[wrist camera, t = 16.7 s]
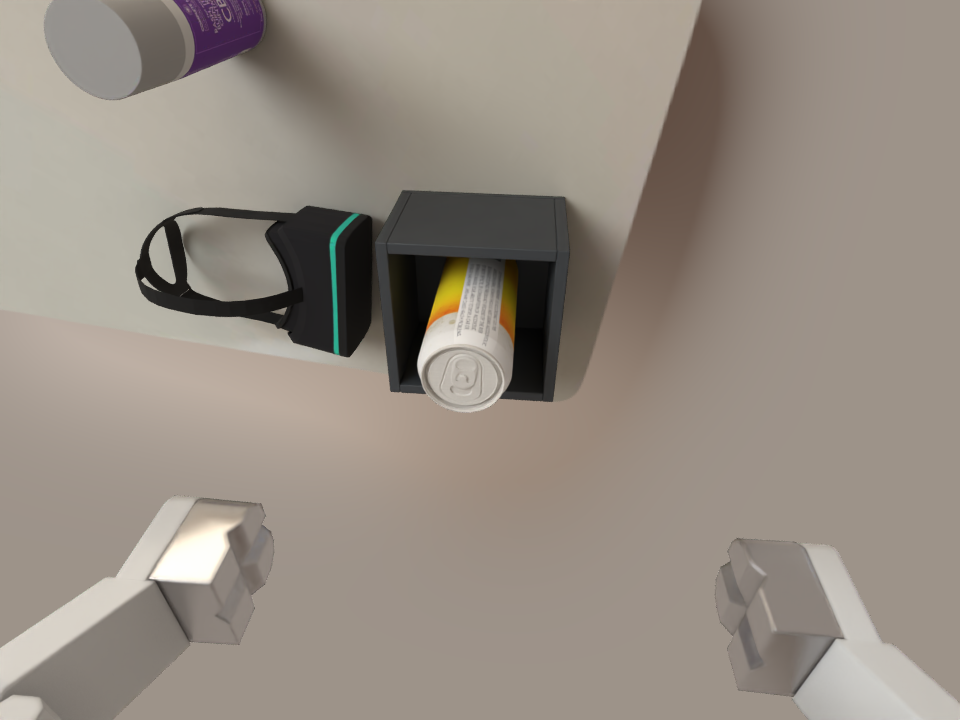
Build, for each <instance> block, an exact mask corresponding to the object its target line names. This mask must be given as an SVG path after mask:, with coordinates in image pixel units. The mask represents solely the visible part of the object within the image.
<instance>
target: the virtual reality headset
mask: <svg viewBox="0 0 960 720" xmlns="http://www.w3.org/2000/svg"><path fill="white" fill-rule="evenodd" d="M193 214H201V215H214V216H223V217H233V218H244V219H259V220H275V221H277V222H275V223H274V224H273V225H272V226H271V227H270V228H269V229H268V230H267V231H266V233H265V238H266V240H267V242H268V243H269V245H270V247H271V248H272V250H273V251H274V253H275V255H276V256H277V258H278V260H279V262H280V264H281V266H282V268H283V271H284V273H285V276H286V280H287V284H288V290H289V291H287V292H284V293H281V294H277V295H273V296H269V297H265V298H259V299H253V300H246V301H231V302H225V301H219V300H216V299H213V298H210V297H207V296H204V295H201V294H199V293H197V292H195V291H193V290H192V289H191V287H190V286H189V284H188V283H187V264H186V257H185V252H184V247H183V243H182V237H181V232H180V229H179V226H178V224H177V222H176V221H175V220H174V219H175V218H176V217H178V216H183V215H193ZM163 226H164V227H165V233H166V237H167V241H168V246H169V250H170V254H171V259H172V264H173V268H174V272H175V276H176V283H175V284H170V283H168V282H167V281H165V280H164V279H162V278H161V277H160V276H159V275H158V274H157V273H156V272H155V271H154V269H153V268H152V265H151V261H150V257H149V246H150V243H151V240H152V238H153V237H154V235H155V233H156V232H157V231H158V230H159V229H160V228H161V227H163ZM135 273H136V277H137V280H138V284H139V287H140V290H141V292H142V294H143V295H144V296H145V297H146V298H147V299H148V300H149V301H150V302H152V303H154V304H156V305H158V306H162V307H165V308H168V309H172V310H176V311H180V312H185V313H190V314H195V315H205V316H216V317H244V318H249V319H254V320H259V321H263V322H267V323H271V324H275V325H276V327H277V329H279V328H282V329H285V330H287V331H289V332H288V335H289V337H290V338H291V340H292V341H293V343H296V344H300V345H304V346H307V347H311V348H315V349H318V350H322V351H326V352H329V353H333V354H337V355H340V356H344V357H350V356H351V355H352V354H353V352H354V351H355V350H356V348H357V347H358V345H359V344H360V342H361V341H362V339H363V338H364V336H365V335H366V333H367V331H368V329H369V327H370V324H371V281H372V219H371V217H370V216H368V215H363V214H357V213H350V212H344V211H338V210H332V209H325V208H319V207H313V206H306V207H304V208H303V209H301V210H300V211H299V212H297V213H296V214H295V213H280V212H263V211H250V210H239V209H228V208H202V207H201V208H193V209H189V210H185V211H183V212H180V213H177V214H175V215H173V216H171V217H169V218H167V219H165V220H163V221H162V222H161V223H160V224H158V225H157V226H156V227H155V228H154V229H153V230H152V231H151V232H150V233H149V235H148V236H147V238H146V239H145V241H144V243H143V246H142V249H141V254H140V259H139V260H137V265H136V267H135ZM144 277H145V278H146V279H147V280H148V281H149V283H150V284H151V285H152V286H153V287H155V288H156V289H157V290H159V291H157V290H154V289H152V288H150V287H148V286H146V285H144V283H143V282H142V281H141V280H142V279H143V278H144ZM188 289H189V290H188ZM187 290H188V291H187ZM160 291H161V292H160ZM183 293H184V294H183ZM182 294H183V295H182ZM285 307H287V309H286V312H285V314H284V315H280V314H276V313H272V312H271V311H275V310H279V309H282V308H285Z"/></svg>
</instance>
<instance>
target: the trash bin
mask: <svg viewBox="0 0 960 720" xmlns="http://www.w3.org/2000/svg"><path fill="white" fill-rule="evenodd" d="M375 250H376V259H377V269H378V278H379V288H380V297H381V307H382V316H383V326H384V335H385V345H386V354H387V363H388V373H389V382H390V391H391V392H400V391H401V392H402V393H418V394H426V392H425V391H424V389H423V386H422V383H421V379H420V376H419V373H418V368H417V362H418V357H419V353H420V350H421V346H422V343H423V339H424V336H425V332H426V329H427V325H428V322H429V318H430V315H431V311H432V308H433V304H434V301H435V297H436V294H437V290H438V286H439V283H440V279H441V276H442V272H443V269H444V265H445V262H446V259H447V257H467V258H488V259H509V260H515V261H516V263H517V267H518V287H517V304H516V320H515V336H514V353H513V369H512V378H511V381H510V384H509V386H508V387H507V389H506V390H505V391H504V392H503V393H502V395H501V397H500V398H499V399H515V400H530V401H542V400H543V401H545V402H553V397H554V388H555V379H556V370H557V362H558V353H559V344H560V335H561V326H562V317H563V309H564V300H565V291H566V282H567V273H568V264H569V256H570V248H569V237H568V227H567V216H566V205H565V197H553V196H528V195H504V194H480V193H455V192H431V191H406V190H403V191H402V192H401V195H400V196H399V198H398V200H397V202H396V204H395V206H394V208H393V210H392V211H391V213H390V215H389V217H388V219H387V221H386V223H385V225H384V226H383V228H382V230H381V232H380V234H379V236H378V238H377V240H376V241H375Z"/></svg>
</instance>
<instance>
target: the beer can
mask: <svg viewBox="0 0 960 720" xmlns="http://www.w3.org/2000/svg"><path fill="white" fill-rule="evenodd" d="M517 287H518V267H517V263H516V261H515V260H509V259H488V258H467V257H447V259H446V262H445V265H444V269H443V272H442V276H441V279H440V283H439V286H438V290H437V294H436V297H435V301H434V304H433V308H432V311H431V315H430V318H429V322H428V325H427V329H426V332H425V336H424V339H423V343H422V346H421V350H420V353H419V357H418V362H417V368H418V373H419V376H420V379H421V383H422V386H423V389H424V391H425V392H426V394H427V395H428V396H429V397H430V398H431V399H432V400H433V401H434V402H435V403H436V404H438V405H440V406H442V407H443V408H446V409H448V410H451V411H456V412H462V413H469V412H477V411H481V410H484V409H486V408H488V407H490V406H492V405H493V404H494V403H496V402H497V401H498V399H499V398H500V397H501V395H502V393H503V392H504V391H505V390H506V389H507V387H508V386H509V384H510V381H511V378H512V369H513V353H514V336H515V320H516V304H517Z"/></svg>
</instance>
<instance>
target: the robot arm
mask: <svg viewBox="0 0 960 720" xmlns="http://www.w3.org/2000/svg"><path fill="white" fill-rule="evenodd" d="M265 516H266V515H265V512H264V510H263V507H262V504H261V503H251V502H240V501H229V500H219V499H210V498H200V497H188V496H176V495H174V496H173V497H172V498H170V499H169V500H168V501H166V502H165V503H164V505H163V506H162V508H161V509H160V511H159V512H158V514H157V515H156V517H155V518H154V520H153V521H152V523H151V524H150V526H149V527H148V529H147V530H146V532H145V533H144V535H143V537H142V538H141V539H140V541H139V542H138V544H137V545H136V547H135V548H134V550H133V552H132V553H131V554H130V556H129V557H128V559H127V560H126V562H125V563H124V565H123V566H122V568H121V569H120V571H119V572H118V574H117V575H116V577H106V578H104V579H103V580H101V581H100V582H98V583H97V584H95V585H94V586H92V587H91V588H89V589H88V590H86V591H85V592H84V593H82V594H80V595H79V596H77V597H76V598H74V599H73V600H71V601H70V602H69V603H67V604H66V605H64V606H62V607H61V608H59V609H58V610H56V611H55V612H53V613H52V614H50V615H49V616H48V617H46V618H44V619H43V620H42V621H40V622H38V623H37V624H35V625H34V626H33V627H31V628H30V629H28V630H27V631H25V632H24V633H22V634H21V635H19V636H18V637H16V638H15V639H13V640H12V641H10V642H9V643H7V644H6V645H4V646H3V647H1V648H0V720H113V719H114V718H115V717H116V716H117V715H118V714H119V713H120V712H121V711H122V710H123V709H124V708H125V707H126V706H128V705H129V704H130V703H131V702H132V701H133V700H134V699H135V698H136V697H137V696H138V695H139V694H140V693H141V692H142V691H143V690H144V689H145V688H146V687H147V686H148V685H149V684H150V683H151V682H152V681H154V680H155V679H156V677H158V676H159V675H160V674H161V673H162V672H163V671H164V670H165V669H166V668H167V667H168V666H169V665H170V664H171V663H172V662H173V661H174V660H176V659H177V658H178V656H179V655H181V654H182V653H183V652H184V651H185V650H186V649H187V648H188V647H189V646H190V642H199V643H216V644H231V645H239V644H240V642H241V639H242V637H243V635H244V632H245V630H246V628H247V625H248V623H249V620H250V618H251V616H252V613H253V611H254V609H255V607H254V603H253V600H252V596H251V595H252V594H254V593H255V592H256V591H257V590H258V589H260V588H261V587H262V586H263V585H265V583H266V580H267V578H268V575H269V573H270V570H271V566H272V561H273V556H274V540H273V536H272V534H271V531H270V530H268V529H267V528H266V527H265V526H263V525H262V523H263V521H264V519H265ZM728 555H729V558H730V562H728V563H727V564H725V565H723V566H721V567H720V570H719V572H718V575H717V578H716V585H715V599H716V608H717V612H718V616H719V620H720V623H721V624H722V625H723V626H724V627H725V628H726V629H727V630H728V631H729V633H730V634H731V635H732V636H733V638H732V640H731V642H730V644H729V646H728V648H727V651H728V654H729V658H730V662H731V665H732V669H733V673H734V676H735V680H736V684H737V688H738V690H740V691H748V692H757V693H766V694H774V695H783V696H791V697H793V699H792V700H793V702H794V703H795V704H796V705H797V707H798V708H799V709H800V710H801V712H802V713H803V714H804V715H805V717H806V718H807V719H808V720H960V702H959V701H958V700H956V699H955V698H954V697H953V696H952V695H951V694H949V693H948V692H947V691H946V690H945V689H944V688H943V687H942V686H940V685H939V684H938V683H937V682H936V681H935V680H934V679H932V678H931V677H930V676H929V675H928V674H927V673H926V672H924V671H923V670H922V669H921V668H920V667H919V666H918V665H917V664H915V663H914V662H913V661H912V660H911V659H910V658H909V657H907V656H906V655H905V654H904V653H903V652H902V651H901V650H900V649H898V648H897V647H896V646H895V645H894V644H891V643H883V642H882V640H881V638H880V636H879V634H878V632H877V630H876V628H875V626H874V624H873V621H872V619H871V617H870V615H869V613H868V611H867V609H866V607H865V606H864V603H863V601H862V599H861V597H860V595H859V593H858V591H857V589H856V587H855V585H854V583H853V581H852V579H851V577H850V575H849V573H848V571H847V569H846V567H845V565H844V563H843V561H842V559H841V557H840V555H839V553H838V551H837V550H836V549H835V548H834V547H833V546H831V545H822V544H807V543H796V542H789V541H773V540H757V539H740V538H737V539H735V540H734V541H732V542H731V545H730V547H729V549H728Z"/></svg>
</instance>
